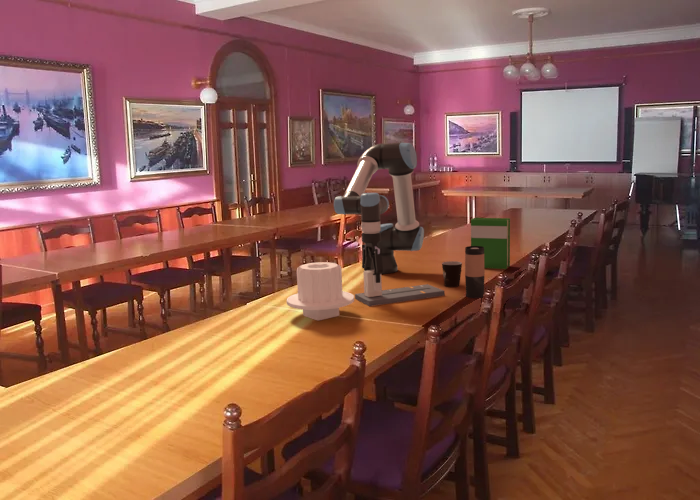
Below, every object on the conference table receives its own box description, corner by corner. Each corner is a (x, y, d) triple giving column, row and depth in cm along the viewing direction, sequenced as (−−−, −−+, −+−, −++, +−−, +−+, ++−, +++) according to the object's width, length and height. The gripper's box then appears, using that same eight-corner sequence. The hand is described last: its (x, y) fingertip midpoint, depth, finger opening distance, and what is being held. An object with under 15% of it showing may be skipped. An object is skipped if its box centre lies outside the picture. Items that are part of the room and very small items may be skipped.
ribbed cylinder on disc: (275, 315, 234) (272, 266, 230) (329, 303, 248) (326, 257, 245) (312, 329, 214) (309, 275, 211) (368, 315, 229) (366, 265, 226)
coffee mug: (461, 287, 267) (461, 265, 265) (441, 287, 268) (441, 265, 267) (462, 281, 278) (462, 260, 276) (443, 281, 280) (442, 260, 278)
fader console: (355, 298, 255) (354, 293, 254) (427, 288, 267) (427, 283, 267) (369, 306, 242) (368, 300, 241) (444, 295, 255) (444, 290, 254)
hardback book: (509, 266, 308) (510, 218, 304) (506, 269, 302) (507, 220, 298) (474, 264, 316) (474, 217, 312) (471, 267, 309) (470, 219, 305)
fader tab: (364, 295, 250) (363, 270, 249) (377, 293, 253) (376, 268, 251) (368, 297, 247) (367, 272, 245) (382, 295, 249) (381, 270, 247)
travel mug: (485, 294, 254) (485, 246, 251) (483, 298, 247) (483, 249, 244) (466, 293, 257) (466, 245, 253) (463, 297, 250) (463, 248, 246)
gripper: (352, 230, 253) (354, 284, 257) (373, 236, 235) (375, 294, 238) (369, 228, 256) (370, 282, 260) (391, 234, 237) (392, 292, 241)
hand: (372, 288), depth 249 cm, fingers open, 8 cm apart
